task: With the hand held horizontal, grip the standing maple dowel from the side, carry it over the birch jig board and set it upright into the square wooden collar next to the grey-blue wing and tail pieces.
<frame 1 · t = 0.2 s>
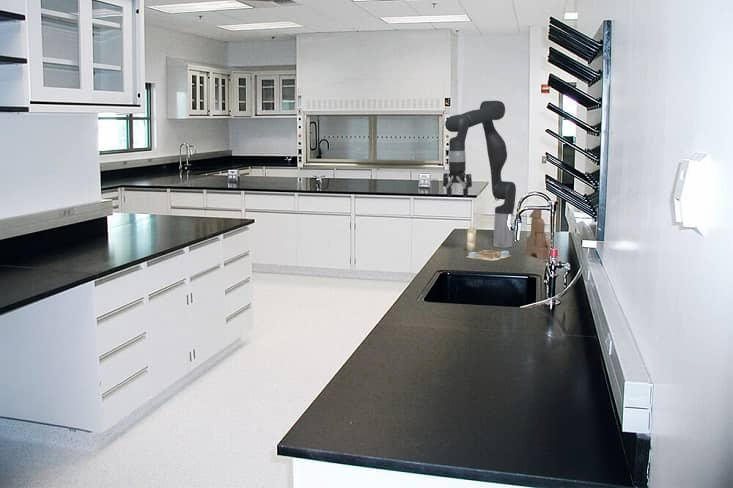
hand: (457, 196, 325), 29 cm above the worktop, tool pointing down, fingers open, 8 cm apart
fuselage dowel: (470, 255, 336), on the worktop
tail piece: (473, 256, 325), point 1 cm above the worktop, touching jig
jig: (488, 258, 328), on the worktop
wooden toy: (538, 259, 329), on the worktop
wing piece: (503, 256, 329), point 1 cm above the worktop, touching jig
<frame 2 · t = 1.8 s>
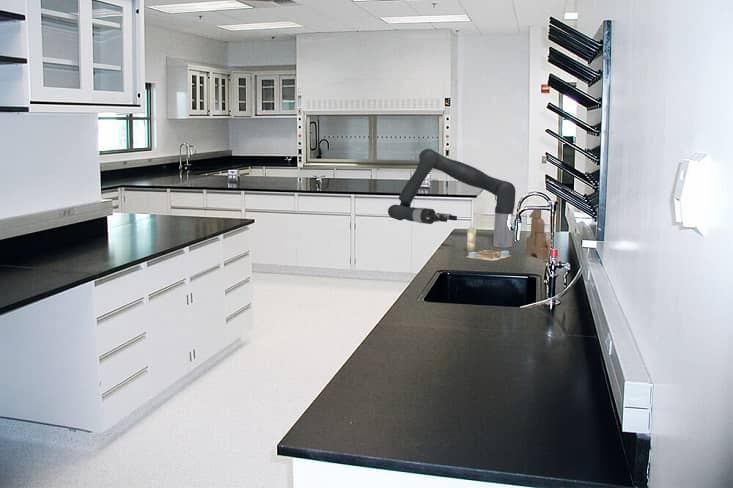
hand: (451, 218, 341), 16 cm above the worktop, tool horizontal, fingers open, 8 cm apart
nothing on the worktop moved.
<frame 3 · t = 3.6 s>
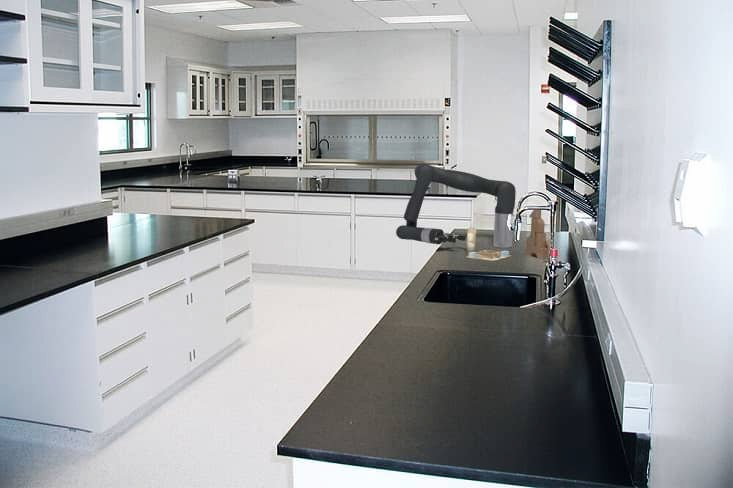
hand: (460, 239, 339), 7 cm above the worktop, tool horizontal, fingers open, 8 cm apart
nothing on the worktop moved.
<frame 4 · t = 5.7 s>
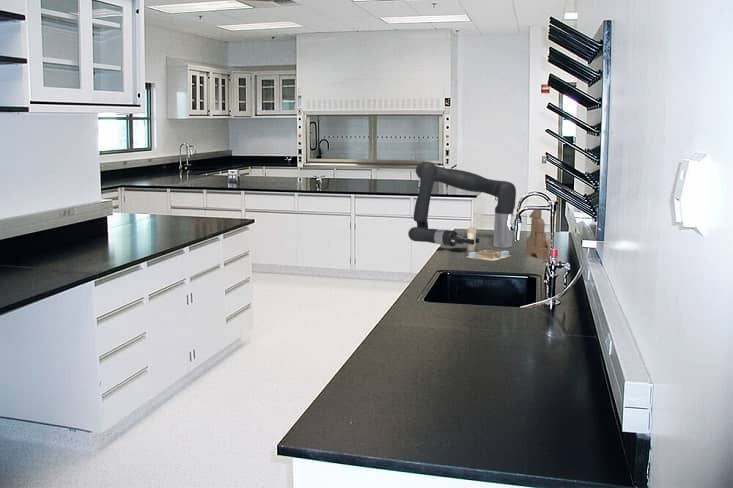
hand: (476, 241, 333), 7 cm above the worktop, tool horizontal, fingers closed on fuselage dowel, 4 cm apart
fuselage dowel: (470, 255, 336), on the worktop, touching gripper
everything else where it was.
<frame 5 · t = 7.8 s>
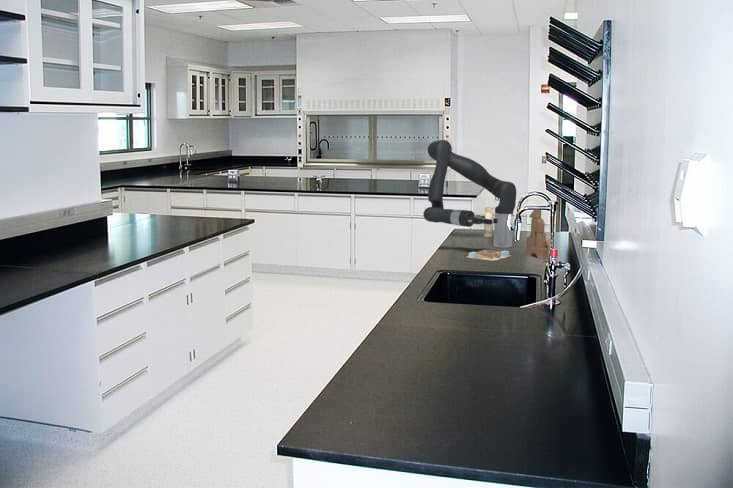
hand: (494, 221, 321), 18 cm above the worktop, tool horizontal, fingers closed on fuselage dowel, 4 cm apart
fuselage dowel: (488, 236, 324), point 11 cm above the worktop, touching gripper
everything else where it was.
when the fingers open (10 cm above the worktop, at t = 9.7 s): fuselage dowel drops 1 cm, resting on jig.
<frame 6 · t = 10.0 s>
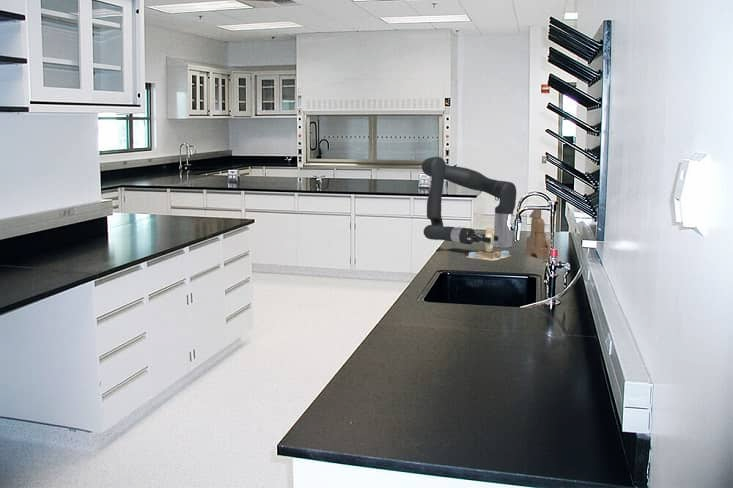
hand: (494, 239, 323), 10 cm above the worktop, tool horizontal, fingers open, 6 cm apart
fuselage dowel: (488, 257, 325), point 1 cm above the worktop, touching jig
everything else where it was.
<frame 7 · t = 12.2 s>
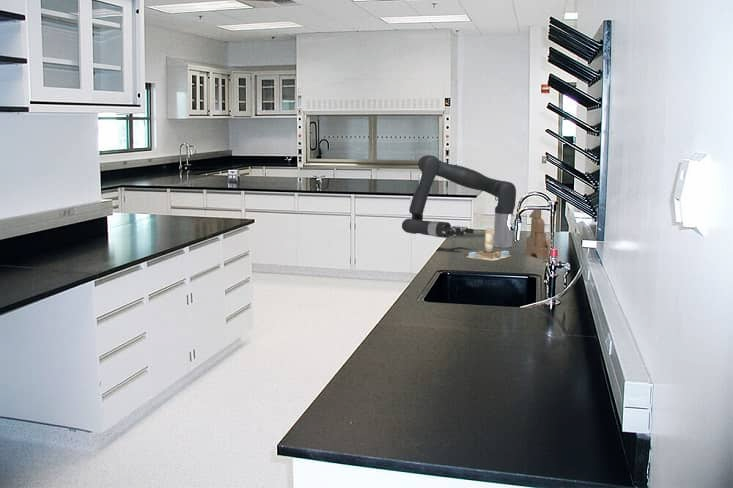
hand: (468, 232, 331), 11 cm above the worktop, tool horizontal, fingers open, 8 cm apart
nothing on the worktop moved.
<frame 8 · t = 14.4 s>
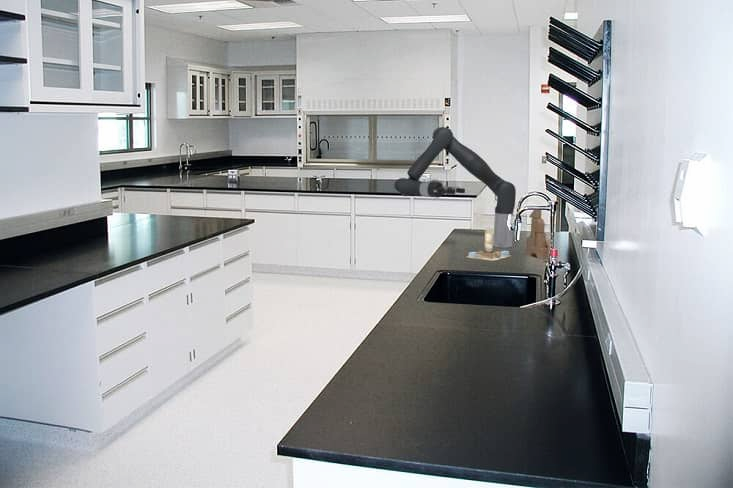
hand: (459, 191, 334), 30 cm above the worktop, tool horizontal, fingers open, 8 cm apart
nothing on the worktop moved.
at the end: fuselage dowel 0.1 cm from the target spot on the jig, point 1.2 cm above the jig's base; fuselage dowel tilted 1°; the gripper is holding nothing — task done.
